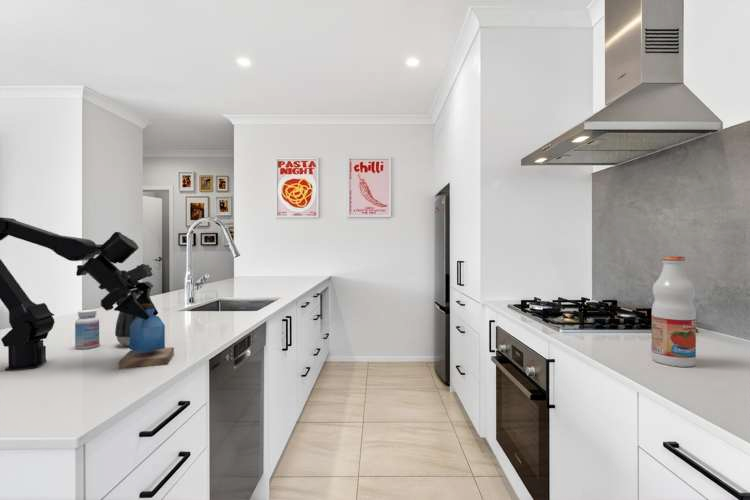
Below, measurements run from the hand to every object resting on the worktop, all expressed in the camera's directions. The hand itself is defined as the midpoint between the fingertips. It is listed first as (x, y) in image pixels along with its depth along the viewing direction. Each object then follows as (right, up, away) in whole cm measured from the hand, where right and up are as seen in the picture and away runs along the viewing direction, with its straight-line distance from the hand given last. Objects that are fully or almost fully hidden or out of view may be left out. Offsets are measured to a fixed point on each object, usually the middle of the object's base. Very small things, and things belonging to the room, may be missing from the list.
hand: (152, 316), depth 109 cm
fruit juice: (+139, -12, -3) cm, 139 cm away
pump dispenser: (-16, -12, +18) cm, 27 cm away
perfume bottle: (-1, -9, 0) cm, 9 cm away
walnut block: (-1, -13, 0) cm, 13 cm away
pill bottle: (-28, -12, +15) cm, 34 cm away
